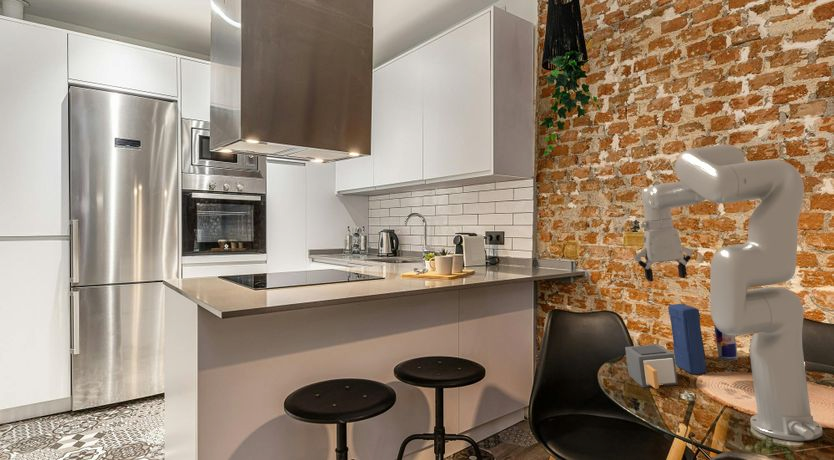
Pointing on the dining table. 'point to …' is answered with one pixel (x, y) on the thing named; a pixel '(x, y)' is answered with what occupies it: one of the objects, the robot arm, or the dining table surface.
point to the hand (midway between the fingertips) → (666, 279)
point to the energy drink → (726, 346)
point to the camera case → (641, 354)
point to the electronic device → (687, 338)
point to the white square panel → (659, 372)
